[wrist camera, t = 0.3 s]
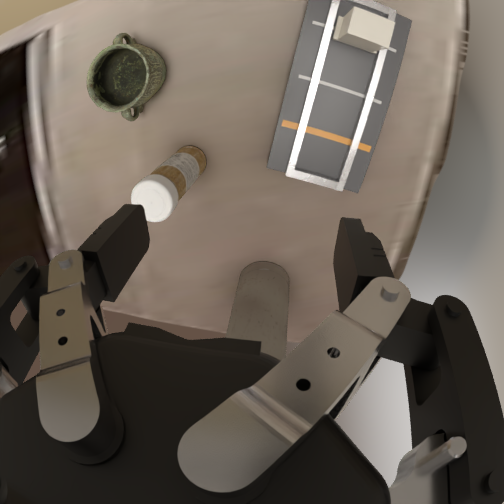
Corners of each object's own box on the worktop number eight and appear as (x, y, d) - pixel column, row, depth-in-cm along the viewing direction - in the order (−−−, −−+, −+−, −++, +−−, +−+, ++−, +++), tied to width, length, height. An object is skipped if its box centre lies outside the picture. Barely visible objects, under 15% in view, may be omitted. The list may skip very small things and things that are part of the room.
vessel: (108, 43, 29) (81, 43, 24) (166, 26, 28) (145, 21, 23) (118, 121, 36) (93, 131, 31) (175, 111, 35) (155, 119, 30)
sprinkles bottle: (177, 177, 40) (135, 224, 29) (172, 146, 38) (124, 182, 26) (209, 175, 39) (175, 223, 28) (205, 143, 37) (167, 179, 26)
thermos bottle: (285, 302, 50) (272, 465, 27) (238, 296, 51) (202, 455, 28) (292, 264, 46) (283, 445, 23) (240, 258, 46) (196, 433, 23)
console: (311, -11, 24) (313, -18, 21) (406, 22, 24) (415, 19, 21) (267, 163, 38) (265, 170, 35) (355, 187, 38) (360, 197, 35)
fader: (337, 17, 24) (348, 4, 18) (379, 32, 24) (400, 24, 18) (331, 39, 26) (342, 31, 20) (374, 53, 26) (393, 50, 20)
